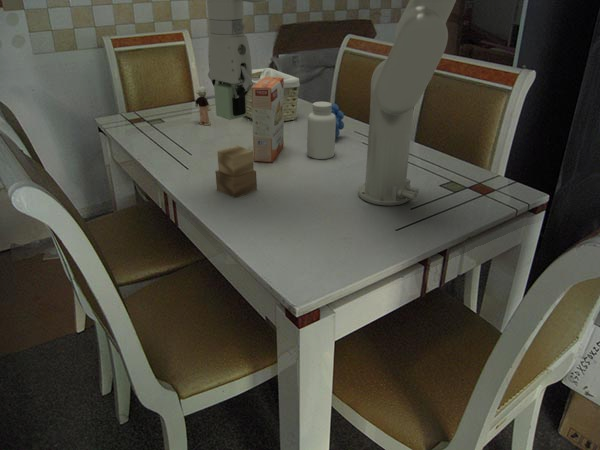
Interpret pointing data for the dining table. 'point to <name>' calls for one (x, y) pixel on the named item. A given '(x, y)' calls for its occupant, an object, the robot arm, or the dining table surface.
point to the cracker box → (268, 118)
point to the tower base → (236, 183)
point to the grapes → (337, 118)
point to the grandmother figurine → (203, 105)
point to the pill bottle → (321, 131)
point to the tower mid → (235, 161)
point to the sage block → (226, 101)
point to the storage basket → (290, 91)
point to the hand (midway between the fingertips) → (231, 111)
